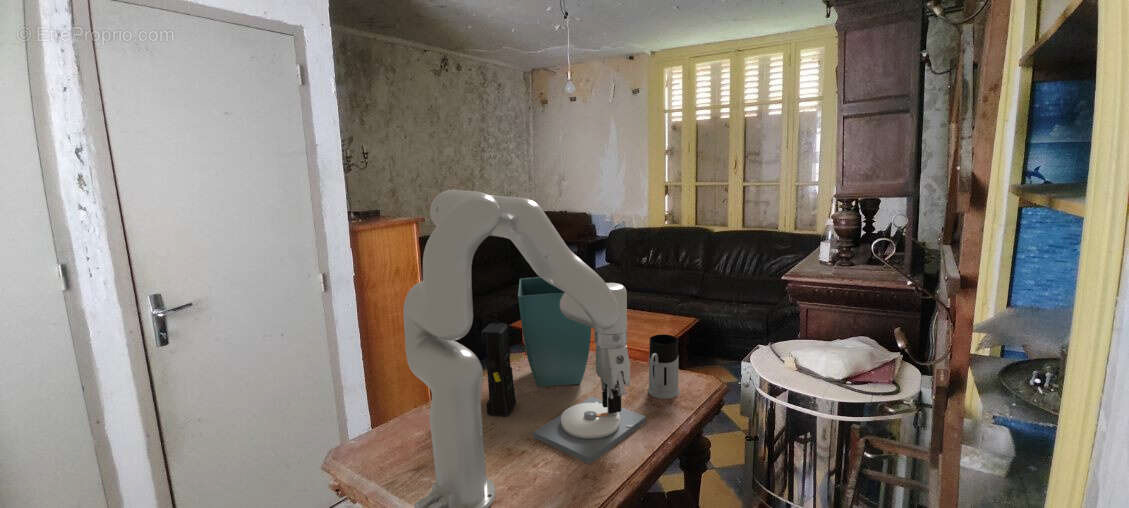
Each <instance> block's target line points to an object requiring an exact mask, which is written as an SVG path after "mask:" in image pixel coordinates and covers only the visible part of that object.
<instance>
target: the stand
mask: <svg viewBox="0 0 1129 508" xmlns="http://www.w3.org/2000/svg"><path fill="white" fill-rule="evenodd" d="M582 403H600V404H602V399H600V398H597V397H595V396H590V397H587V398H586V399H585V400H583V401H582V402H580V403H579V404H582ZM618 413H619V415H620V426H619V428H618V430H617V431H616V432H614V433H613V434H611V435H609V436H606V437H602V438H597V439H584V438H578V437H575V436H572V435H570V434H568V433H567V432H565V431H564V430H563V428H562V425H561V415H562V413H561V414H560V415H558V416H556V417H554V418H553V419H552V420H550V421H548V422H546V423H545V424H543V425H541V426H540V427H538V428H536V429H535V430H533V431H532V438H534V439H535V440H537V439H538V441H540V442H542V443H544V444H546V445H548V446H550V447H552V446H553V448H554V447H555V448H554V449H556V448H557V450H558V449H559V451H561V452H563V453H565V454H567V455H569V456H571V457H573V458H576V459H578V460H580V461H582V462H584V463H587V464H588V465H591V464H592V463H594V462H595V461H596V460H598V459H600V457H602V456H603V455H604V454H606V453H607V452H608V451H609V450H610V449H612V448H614V446H616V445H618V444H619V443H620V442H621V441H624V439H625V438H627V437H628V436H629V435H631V434H632V433H633V432H635V431H636V430H637V429H639V428H640V427H642V426H643V425H644V424H646V422H647V416H646V415H643V414H640V413H639V412H635V411H634V410H633V411H632V410H630V409H627V408H625V407H622V406H621V411H620V412H618Z"/></svg>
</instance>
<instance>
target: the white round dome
mask: <svg viewBox="0 0 1129 508" xmlns="http://www.w3.org/2000/svg"><path fill="white" fill-rule="evenodd" d="M614 390H618V388H615V389H613V392H614ZM608 397H609V386H607V407H605V408H604V407H603V405H602V404H600V403H582V404H580V403H577V404H574V405H572V406H570V407H568V408H566V409H565V410H564V411H563V412H562V413H561V414H562V415H561V414H560V415H561V425H562V428H563V430H564V431H565V432H567V433H568V434H570V435H572V436H575V437H578V438H584V439H597V438H602V437H606V436H609V435H611V434H613V433H614V432H616V431H617V430H618V428H619V426H620V415H619V413H618V412H617V413H612V414H609V413H608Z"/></svg>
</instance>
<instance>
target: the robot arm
mask: <svg viewBox="0 0 1129 508" xmlns="http://www.w3.org/2000/svg"><path fill="white" fill-rule="evenodd" d="M429 212H430V213H429V214H430V218H431V220H432V222H433V224H434V226H436V227H435V228H434V230H433V231H432V232H431V234H430V235H429V238H428V239H427V242H426V244H425V247H424V250H423V257H422V280H421V281H419V282H417V283H416V284H415V285H413V286H412V287H411V288H410V289H409V291H408V292H407V294H406V295H405V299H404V304H403V313H402V314H403V328H404V344H405V355H406V361H407V365H408V367H409V369H410V371H411V372H412V374H413V375H415V377H416V378H418V379H419V380H420V381H421V382H423V383H424V384H425V385H426V386H427V387H428V388H429V390H430V391H431V403H430V408H429V424H430V432H431V442H432V443H431V444H432V450H433V451H432V452H433V462H434V463H433V464H434V472H435V473H434V474H435V482H434V483H432V484H431V485H430V486H431V491H430V492H428V494H427V496H425V497H422V498H421V499H419V500H417V501H416V502H414V508H489V507H490V506H491V505H492V504H493V502H494V501H495V498H496V486H495V484H494V482H493V481H492V480H491V479H490V478H489V477H487V470H486V457H485V445H484V430H483V422H482V421H483V417H482V389H483V380H484V379H483V378H484V371H483V365H482V364H481V361H480V360H479V358H478V356H477V355H476V354H475V353H474V352H473V351H472V350H471V349H470V348H467V347H466V346H465V345H463V344H462V343H459V342H458V341H457V340H460V339H462V338H464V337H465V336H467V335H468V334H469V332H470V330H471V328H472V325H473V320H474V306H473V302H474V301H473V289H472V288H473V287H472V286H473V285H472V265H473V259H474V257H475V256H474V255H475V253H476V251H477V250H478V247H479V246H480V245H481V244H482V243H483V242H484V241H485V240H486V239H487V238H488V237H489V236H492V237H499V238H505V239H508V240H510V241H511V243H513V245H514V246H515V247H516V248H517V250H518V251H519V253H520V254H521V255H522V257H523V258H524V259H525V261H526V263H528V264H529V266H530V267H531V268H532V270H533V271H534V272H535V274H536V275H537V277H541V278H542V279H544V280H545V281H546V282H548V283H549V284H551V285H553V286H555V287H557V288H558V289H560V290H562V291H563V292H565V293H564V295H563V296H562V298H561V300H560V310H561V312H562V314H563V315H564V316H565V317H567V318H568V319H570V320H573V321H575V322H578V323H580V324H584V325H587V326H589V327H591V329H594V344H595V373H596V374H597V376H598V377H599V379H600V381H601V391H602V393H601V395H602V396H601V400H602V405H603V407H604V408H605V407H607V386H609V397H608V413H609V414H612V413H617V412H620V411H621V407H622V397H623V395H626V389H625V386H626V387H630V385H631V371H630V369H631V368H630V358H629V351H628V346H627V343H628V307H627V306H628V303H627V302H628V301H627V300H628V299H627V298H628V296H627V295H628V291H627V289H626V287H625V286H624V285H623V284H621V283H616V282H606V281H605V280H604V279H603V278H602V277H601V276H600V275H599V274H598V273H597V272H596V271H594V269H593V268H591V267H590V266H589V265H588V264H587V263H586V262H584V261H583V259H581V258H580V257H579V256H577V254H575V253H574V252H573V251H572V250H571V249H570V248H569V247H568V246H567V244H566V243H565V241H564V239H563V238H562V237H561V235H560V233H559V232H558V231H557V229H556V227H555V226H554V225H553V223H552V222H551V219H550V218H549V217H548V215H547V214H546V213H545V211H544V209H543V208H542V207H541V206H540V205H539V204H538V203H537V202H536V201H534V200H532V199H529V198H526V197H518V196H516V197H515V196H507V195H506V196H505V195H493V194H488V193H485V192H481V191H476V190H475V191H474V190H463V189H462V190H460V189H446V190H444V191H441V192H440V193H438V194H437V195H436V196H435V197H434V198H433V201H432V203H431V204H430V210H429ZM615 388H617V390H614V392H613V389H615Z"/></svg>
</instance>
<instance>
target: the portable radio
mask: <svg viewBox="0 0 1129 508" xmlns="http://www.w3.org/2000/svg"><path fill="white" fill-rule="evenodd" d="M497 316H498V314H494V317H495V321H494V322H493V323H489V324H488V325H486V327H484V328H483V329H482V330H481V332H480V336H481V338H480V339H481V343H484V345H485V354H486V355H485V356H486V372H487V384H488V385H487V386H488V397H489V398H488V401H487V403H486V414H487V415H489V416H499V417H508V416H509V415H510V414H511V413H512V411H513V410H514V407H515V405H516V404H517V400H516V394H515V386H514V383H515V382H514V375H513V374H514V373H513V367H512V366H511V359H510V355H511V344H510V331H509V326H508V323H502V322H499V320H498V317H497Z"/></svg>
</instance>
